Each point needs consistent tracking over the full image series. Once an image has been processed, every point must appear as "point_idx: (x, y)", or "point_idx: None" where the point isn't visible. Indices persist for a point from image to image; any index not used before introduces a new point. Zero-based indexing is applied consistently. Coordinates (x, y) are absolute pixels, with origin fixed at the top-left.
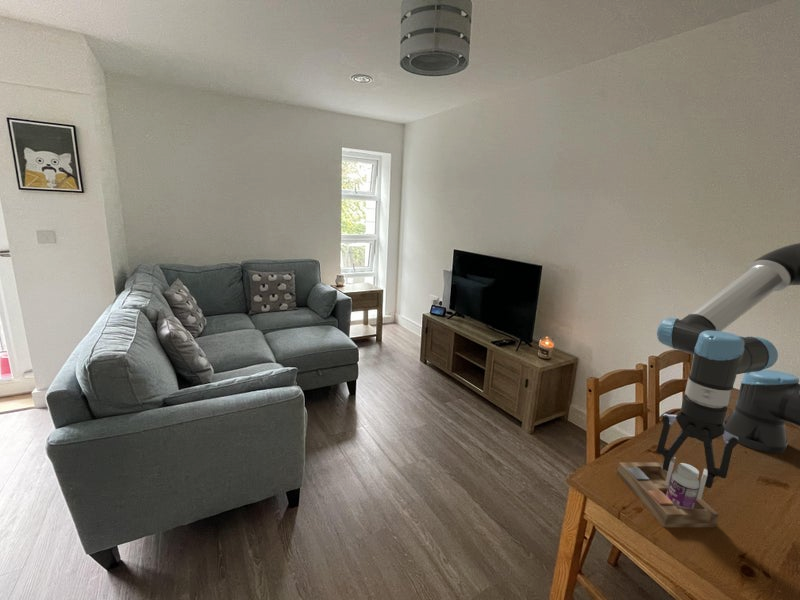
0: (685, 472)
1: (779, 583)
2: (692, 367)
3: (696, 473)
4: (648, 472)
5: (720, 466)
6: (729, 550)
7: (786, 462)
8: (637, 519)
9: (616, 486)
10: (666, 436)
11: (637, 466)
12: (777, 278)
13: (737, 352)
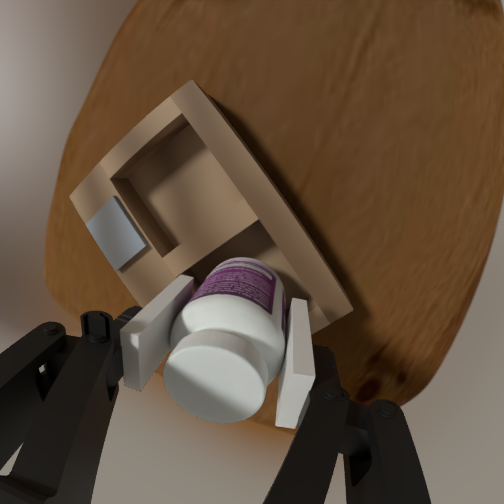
0: (200, 417)
1: (413, 385)
2: None
3: (249, 408)
4: (161, 144)
5: (370, 440)
6: (354, 356)
7: None
8: (164, 361)
9: (103, 260)
10: (8, 456)
11: (113, 175)
12: None
13: None
